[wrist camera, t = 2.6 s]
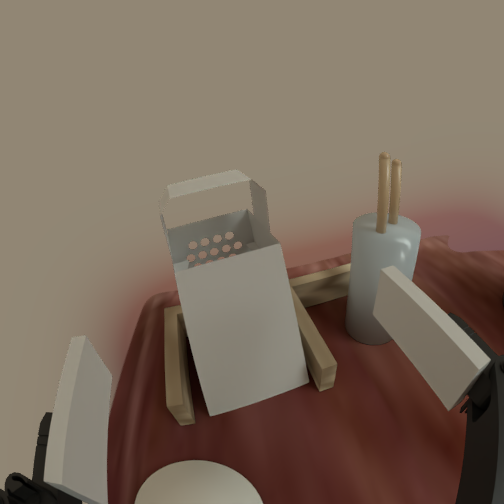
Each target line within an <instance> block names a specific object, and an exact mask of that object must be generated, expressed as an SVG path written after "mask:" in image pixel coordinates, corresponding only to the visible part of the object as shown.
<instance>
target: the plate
mask: <svg viewBox="0 0 504 504" xmlns="http://www.w3.org/2000/svg"><path fill="white" fill-rule="evenodd" d="M135 504H263V502H262V500H261V497H260V496H259V494H258V492H257V491H256V489H255V488H254V487H253V485H252V484H251V483H250V482H249V481H248V480H247V479H246V478H245V477H243V476H242V475H241V474H239V473H238V472H236V471H234V470H233V469H231V468H229V467H226V466H224V465H221V464H218V463H214V462H210V461H202V460H190V461H182V462H177V463H173V464H170V465H168V466H165V467H163V468H161V469H160V470H158V471H156V472H155V473H154V474H152V475H151V476H150V477H149V478H148V479H147V480H146V481H145V482H144V483H143V485H142V486H141V488H140V490H139V492H138V494H137V496H136V500H135Z"/></svg>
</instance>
